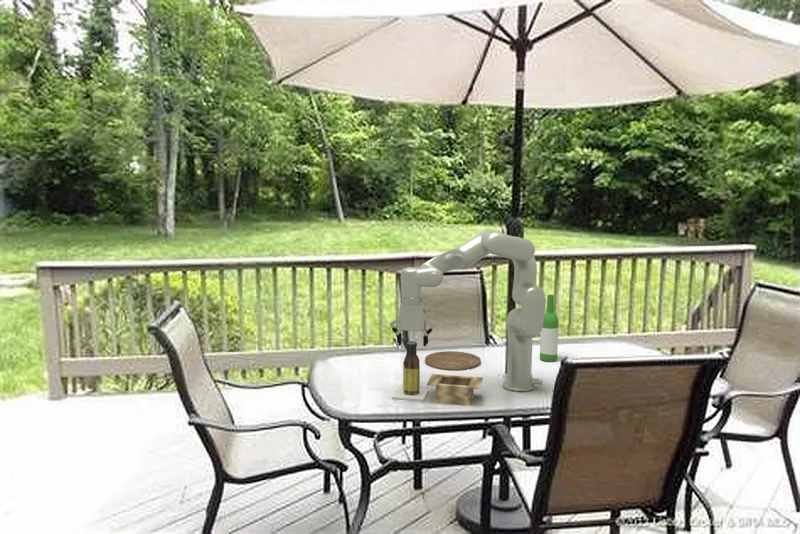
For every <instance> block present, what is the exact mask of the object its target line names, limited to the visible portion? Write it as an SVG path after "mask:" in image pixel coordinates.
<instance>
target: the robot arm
mask: <svg viewBox="0 0 800 534" xmlns="http://www.w3.org/2000/svg"><path fill="white" fill-rule="evenodd" d="M535 253H536V249H535V245H534V243H533V242H532V241H531V240H529V239H527V238H523V237H519V236H512V235H509V234H505V233H501V232H499V231H495V230H488V229H487V230H484V231H482V232H480V233H478V234H477V235H475V236H474V237H471V238H470V239H468V240H467V241H465V242H464V243H462V244H460V245H458V246H457V247H456V246H455V247H454V248H452V249H449V250H447V251H445V252H442V253H441V254H438V255H436V256H434V257H432V258H431V259H429V260H427V261H425V262H424V263H423V264H421V265H419V267H416V266H415V267H413V266H412V267H411V266H410V267H404V268H402V269H401V271H400V287H401V288H400V289H401V291H400V293H401V296H400V297H401V303H399V306H398V307H399V308H398V318H396V319H394V320H393V321H390V323H389V327H390V328H391V330H392V332H393V333H394V334H395V335H396V343H398V344H397V345H398V347H399V346H401V345H402V344H403V338H402V336H403V334H402V331H404V332H405V331H407V332H421V333H422V334H423V337H422V339H423V340H422V341H423V343H422V344H423V346H424V347H427V345H428V344H429V334H431V333H432V331H433V330H434V329H435V326H436V323H434V322H432V321H431V320H429V319H427V316H426V309H425V304H424V302H426V297H423V296H422V287H424V288H437V287H438V286H440V285H441V284H442V283H443V281H444V274H445V273H447V272H449V271H452V270H459V269H465V268H468V267H470V266H472V265H473V264H475V263H477V262H478V261H480V260H481V259H483V258H485V257H487V256H488V255H495V256H497V257H501V258H505V259H508V260H509V259H510V260H511V262H512V264H513V266H514V270H513V271H514V273H513V274H514V275H513V276H514V277H513V283H512V291H511V292H512V294H511V295H512V300H513V302H514V303H516V304H517V305H519V306H521V307H517V308H513V309H512V310H510V311H509V312H508V314H507V317H506V322H505V323H506V330H507V331H506V332H507V357H506V358H507V359H506V362H507V363H506V379H505V380H504V381H503V382H502V388H504V389H505V390H508V391H511V390H514V391H513V392H518V391H525V392H530V391H529V390H531V391H533V390H534V389H535V387H536V385H538V386H543V382H544V381H543V379H541V378H538V377H537V378H535V377H533V374H532V368H533V367H532V364H533V361H532V360H533V339H534V338H537V337H538V336H539V335H541V331H542V328H543V323H544V314H545V313H546V312H545V311H546V306H547V297H546V294H545V292H544V290H543V288H542V287H540V286H538V285H537V273H538V268H537V267H538V266H537V260H536V258H535ZM396 324H398V325H397V327H398V328H397V327H396V326H395V325H396ZM427 325H428V326H430V327H429V328H428V329H427V328H426V327H427ZM532 389H533V390H532Z"/></svg>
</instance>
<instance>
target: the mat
mask: <svg viewBox="0 0 800 534" xmlns="http://www.w3.org/2000/svg"><path fill="white" fill-rule="evenodd" d="M429 391H430V388H423V387H420V388H419V393H418V394H414V395H410V394H406V393H404V388H403V386H398V387H397V388H396V390H395V392H394V393H393V394H392V397H391V400H392V399H395V400H394V401H396V400H397V401H404V400H406V401H407V402H417V401H419V403H424V402H425V399H426V398H427V396H428V394H429ZM406 401H405V402H406Z"/></svg>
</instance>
